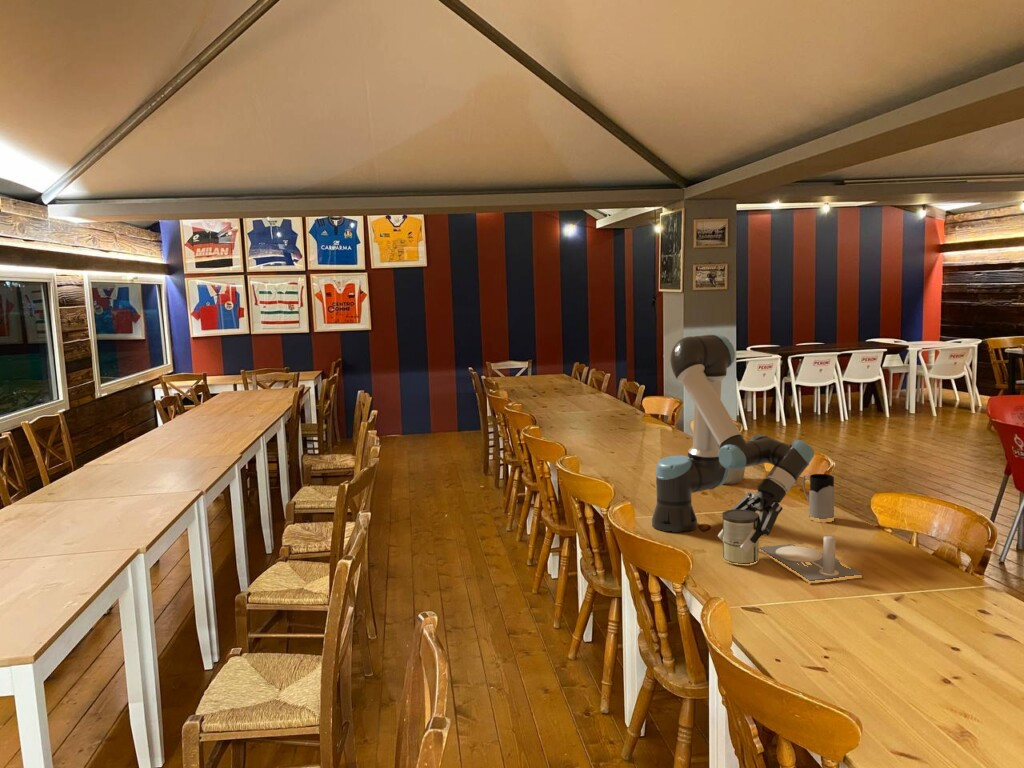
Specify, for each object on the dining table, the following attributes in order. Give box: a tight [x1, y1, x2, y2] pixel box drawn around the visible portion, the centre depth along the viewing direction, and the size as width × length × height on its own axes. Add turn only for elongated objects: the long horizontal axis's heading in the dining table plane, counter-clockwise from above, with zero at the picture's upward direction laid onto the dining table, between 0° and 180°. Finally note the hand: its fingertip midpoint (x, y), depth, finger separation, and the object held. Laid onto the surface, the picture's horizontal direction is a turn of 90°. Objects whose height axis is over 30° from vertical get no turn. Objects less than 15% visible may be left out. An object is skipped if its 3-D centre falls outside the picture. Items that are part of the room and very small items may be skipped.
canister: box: [718, 438, 748, 485], centre depth 307 cm, size 18×18×21 cm
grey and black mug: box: [802, 473, 835, 519], centre depth 256 cm, size 9×14×15 cm, turn 15°
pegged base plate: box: [758, 535, 863, 581], centre depth 213 cm, size 16×27×11 cm, turn 10°
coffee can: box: [721, 509, 759, 564], centre depth 218 cm, size 10×10×14 cm
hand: (731, 544), depth 217 cm, fingers closed on coffee can, 10 cm apart
